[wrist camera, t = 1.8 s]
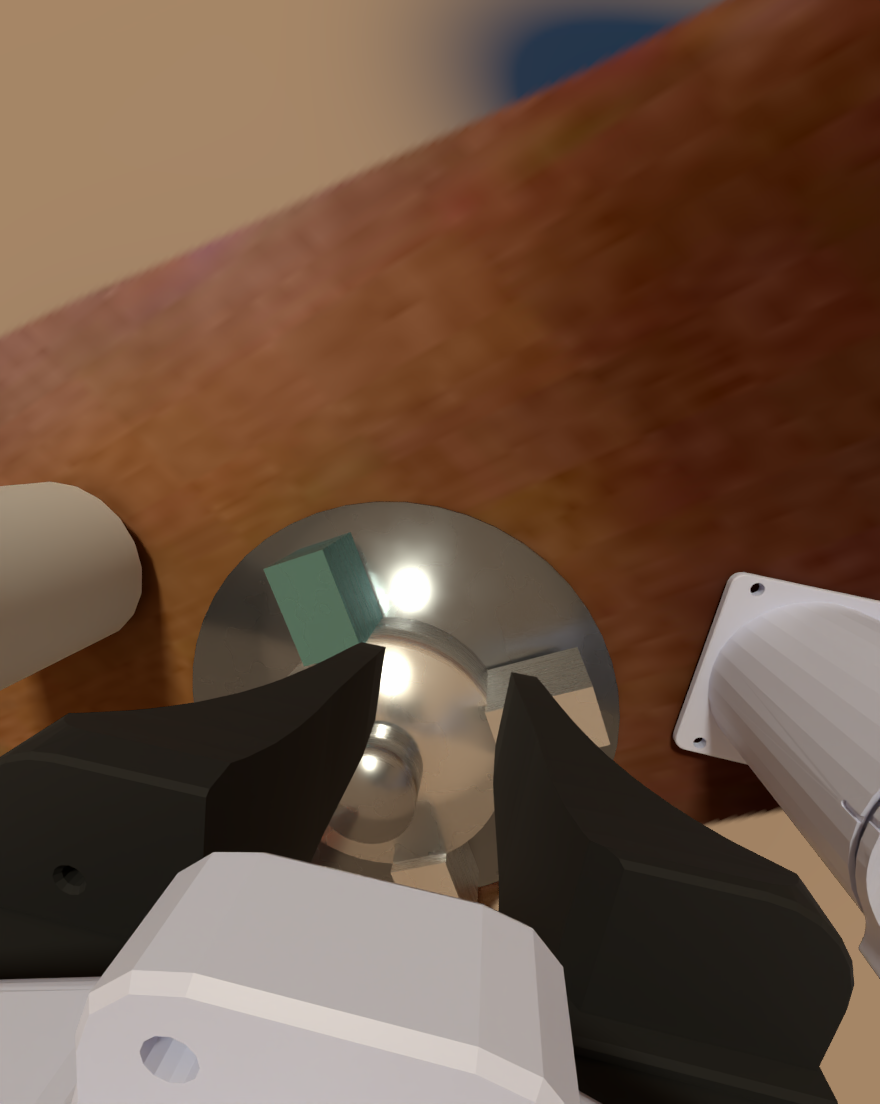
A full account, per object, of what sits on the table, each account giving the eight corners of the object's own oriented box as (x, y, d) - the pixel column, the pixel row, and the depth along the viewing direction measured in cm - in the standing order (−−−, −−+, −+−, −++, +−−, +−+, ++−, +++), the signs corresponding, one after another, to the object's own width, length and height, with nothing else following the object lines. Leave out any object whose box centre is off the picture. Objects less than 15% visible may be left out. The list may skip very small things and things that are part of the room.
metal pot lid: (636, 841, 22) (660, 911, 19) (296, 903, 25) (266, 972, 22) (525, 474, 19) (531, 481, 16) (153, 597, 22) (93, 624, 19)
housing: (678, 557, 19) (748, 602, 14) (555, 933, 24) (571, 1075, 19) (211, 458, 21) (110, 464, 15) (182, 833, 26) (98, 939, 20)
